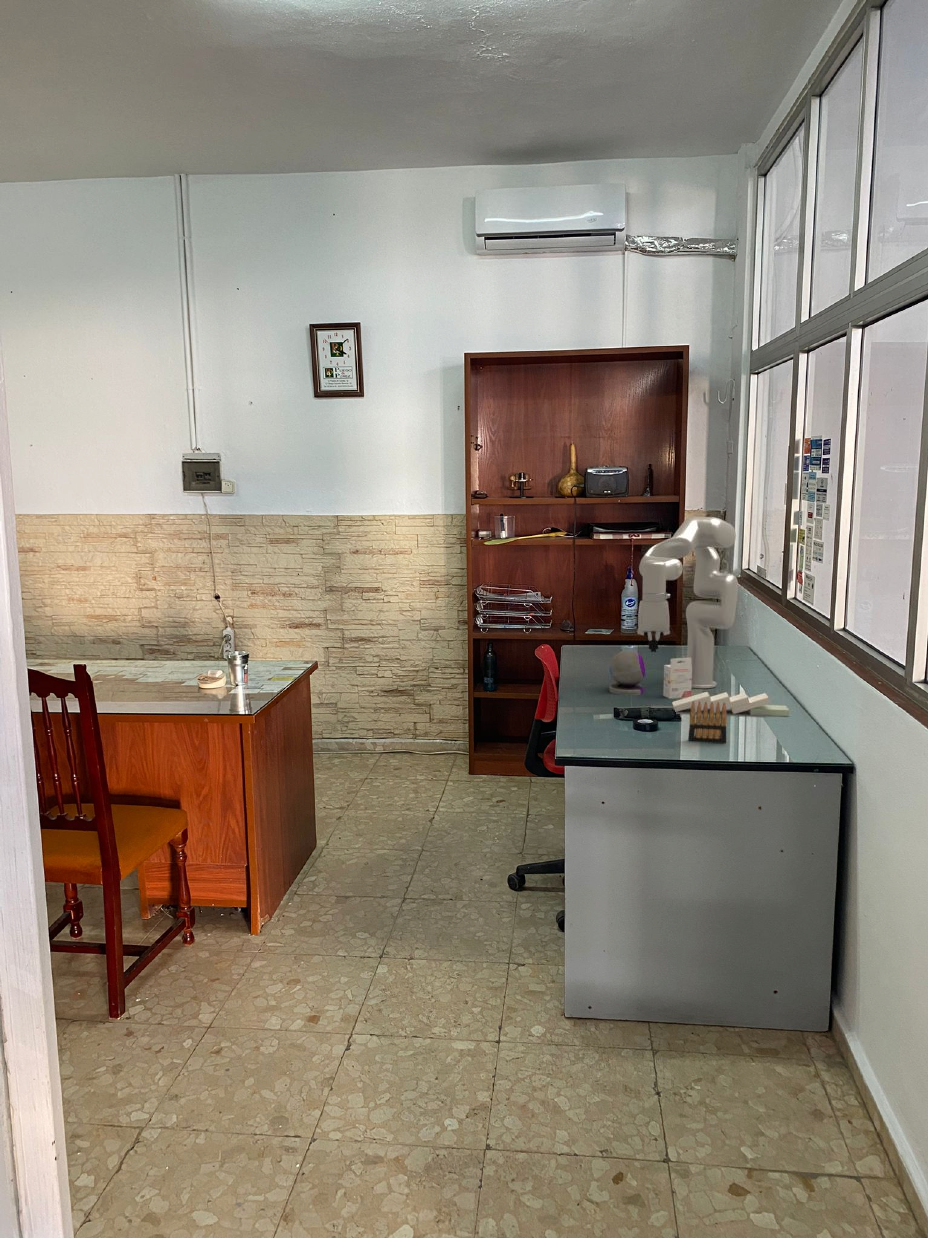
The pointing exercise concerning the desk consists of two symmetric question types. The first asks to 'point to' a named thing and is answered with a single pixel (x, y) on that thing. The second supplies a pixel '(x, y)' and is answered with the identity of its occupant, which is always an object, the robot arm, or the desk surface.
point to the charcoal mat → (728, 713)
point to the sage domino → (770, 710)
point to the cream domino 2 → (716, 700)
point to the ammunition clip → (707, 724)
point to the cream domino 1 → (688, 701)
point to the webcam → (627, 673)
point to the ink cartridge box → (678, 678)
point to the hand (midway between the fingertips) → (653, 651)
